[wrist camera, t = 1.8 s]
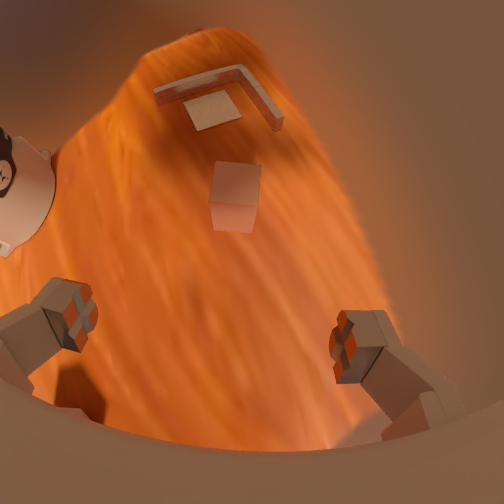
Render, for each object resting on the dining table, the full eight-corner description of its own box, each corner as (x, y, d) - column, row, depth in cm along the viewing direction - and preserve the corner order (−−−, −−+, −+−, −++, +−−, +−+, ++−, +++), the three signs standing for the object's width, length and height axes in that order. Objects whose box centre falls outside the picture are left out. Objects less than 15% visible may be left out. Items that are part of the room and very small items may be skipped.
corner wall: (281, 129, 37) (284, 116, 34) (181, 163, 34) (178, 151, 31) (241, 75, 40) (242, 63, 37) (156, 101, 37) (152, 89, 34)
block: (214, 229, 32) (208, 201, 25) (218, 195, 34) (215, 160, 26) (251, 233, 33) (257, 206, 25) (254, 199, 34) (261, 164, 26)
